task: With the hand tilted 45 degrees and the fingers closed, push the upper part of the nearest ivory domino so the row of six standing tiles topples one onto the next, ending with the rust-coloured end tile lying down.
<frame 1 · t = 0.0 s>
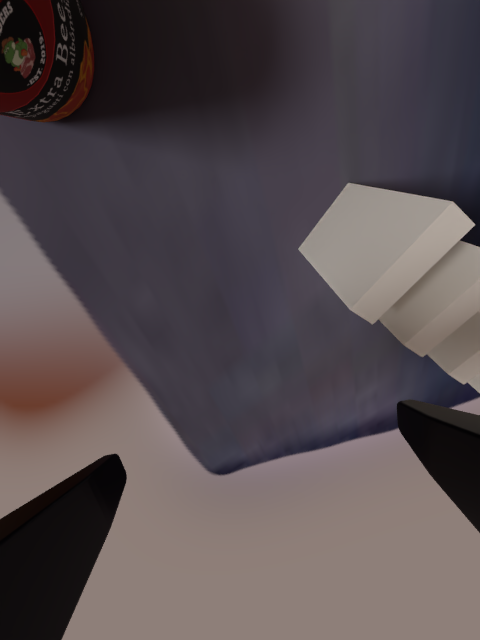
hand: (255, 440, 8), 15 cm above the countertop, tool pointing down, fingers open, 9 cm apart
canned food: (24, 35, 14), on the countertop
domino 2: (365, 251, 22), on the countertop
domino 1: (329, 223, 20), on the countertop
domino 3: (397, 276, 23), on the countertop
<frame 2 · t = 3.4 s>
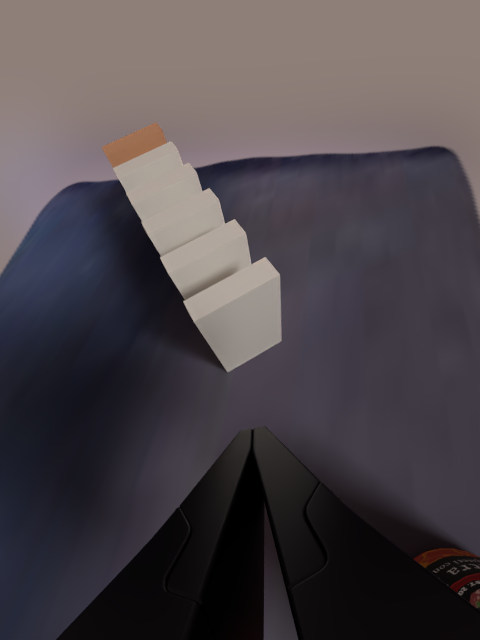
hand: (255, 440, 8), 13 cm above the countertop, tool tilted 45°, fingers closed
canned food: (463, 632, 15), on the countertop
domino 2: (230, 316, 26), on the countertop
domino 6: (171, 222, 33), on the countertop
domino 1: (250, 349, 24), on the countertop
domino 3: (212, 288, 28), on the countertop
domino 4: (197, 263, 30), on the countertop
domino 5: (183, 241, 32), on the countertop
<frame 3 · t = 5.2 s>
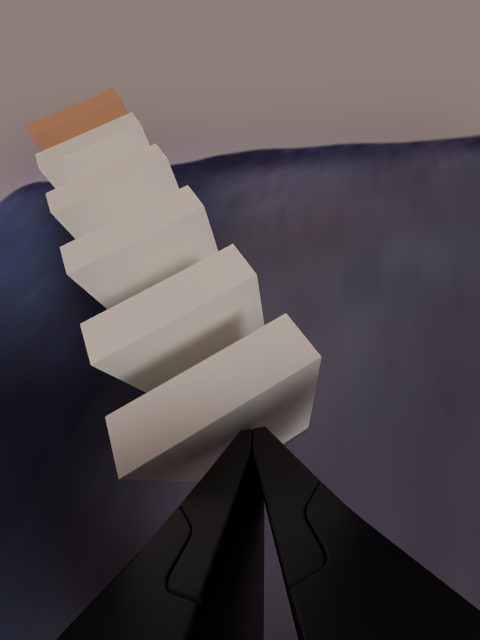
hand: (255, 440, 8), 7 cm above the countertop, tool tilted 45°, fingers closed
domino 2: (226, 381, 17), on the countertop
domino 6: (148, 234, 25), on the countertop
domino 1: (258, 441, 15), on the countertop
domino 3: (201, 334, 19), on the countertop
domino 4: (180, 295, 21), on the countertop
domino 5: (162, 262, 23), on the countertop
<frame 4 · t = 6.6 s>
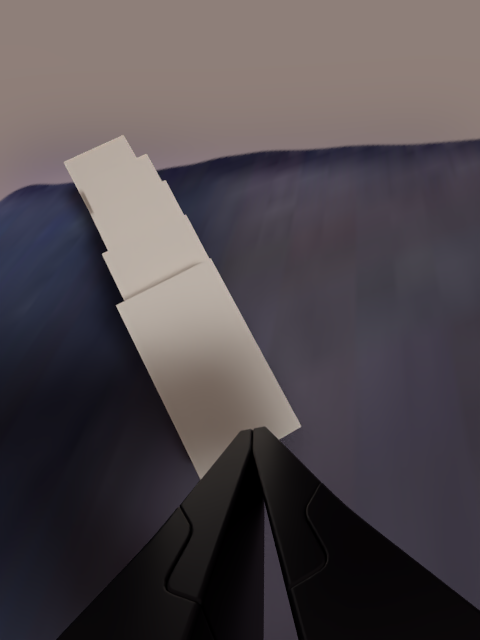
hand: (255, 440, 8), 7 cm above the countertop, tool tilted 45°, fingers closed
domino 2: (219, 380, 16), point 1 cm above the countertop, tilted 68°, touching domino 1, domino 3
domino 1: (251, 449, 14), point 1 cm above the countertop, tilted 68°, touching domino 2
domino 3: (194, 326, 18), point 1 cm above the countertop, tilted 68°, touching domino 2, domino 4
domino 4: (173, 282, 20), point 1 cm above the countertop, tilted 70°, touching domino 3, domino 5
domino 5: (148, 245, 22), point 1 cm above the countertop, tilted 72°, touching domino 4, domino 6
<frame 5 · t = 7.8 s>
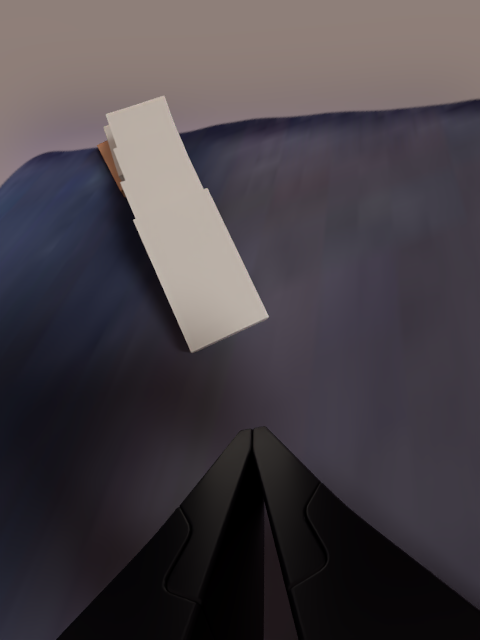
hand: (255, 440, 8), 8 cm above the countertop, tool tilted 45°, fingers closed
domino 2: (207, 287, 20), point 1 cm above the countertop, tilted 68°
domino 6: (148, 185, 28), on the countertop, tilted 90°, touching domino 5
domino 1: (230, 335, 18), point 1 cm above the countertop, tilted 69°
domino 3: (189, 246, 22), point 1 cm above the countertop, tilted 68°, touching domino 4
domino 4: (172, 209, 25), point 1 cm above the countertop, tilted 65°, touching domino 3, domino 5
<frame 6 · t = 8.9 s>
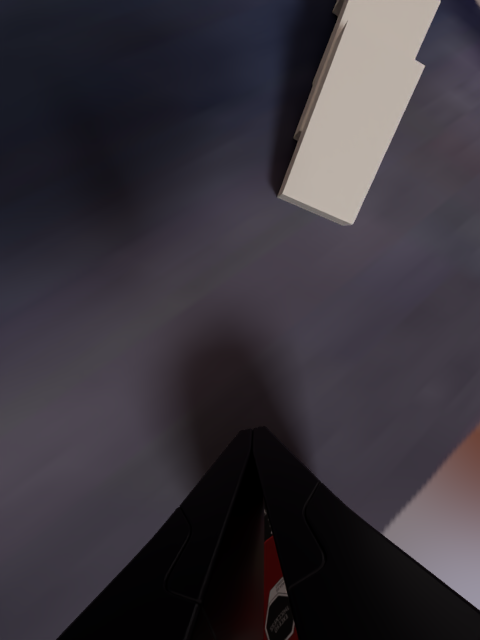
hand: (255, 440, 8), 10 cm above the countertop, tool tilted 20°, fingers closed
canned food: (273, 528, 19), on the countertop
domino 2: (329, 151, 20), point 1 cm above the countertop, tilted 70°, touching domino 1, domino 3
domino 1: (314, 210, 19), point 1 cm above the countertop, tilted 70°, touching domino 2
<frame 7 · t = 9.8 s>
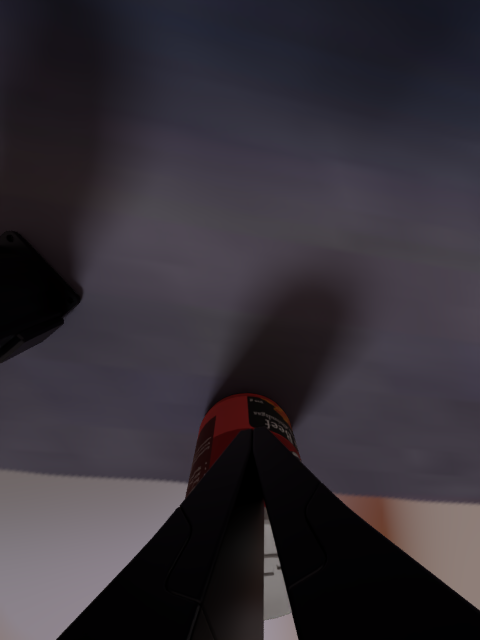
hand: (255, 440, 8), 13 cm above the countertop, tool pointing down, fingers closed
canned food: (245, 425, 24), on the countertop
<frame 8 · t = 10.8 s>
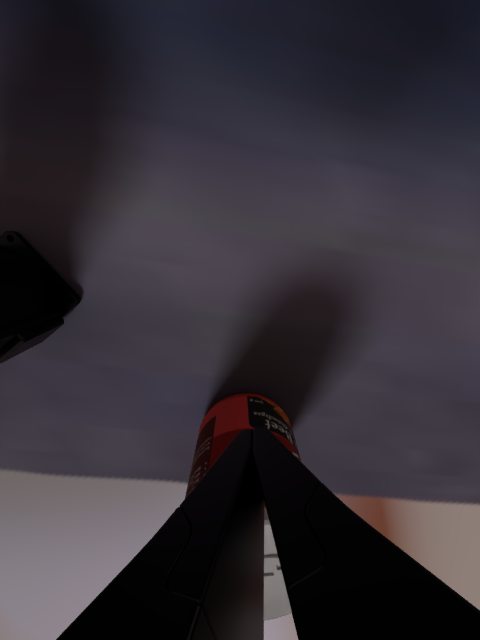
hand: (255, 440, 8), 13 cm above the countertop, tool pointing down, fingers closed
canned food: (245, 426, 24), on the countertop
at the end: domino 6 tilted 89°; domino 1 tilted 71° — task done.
